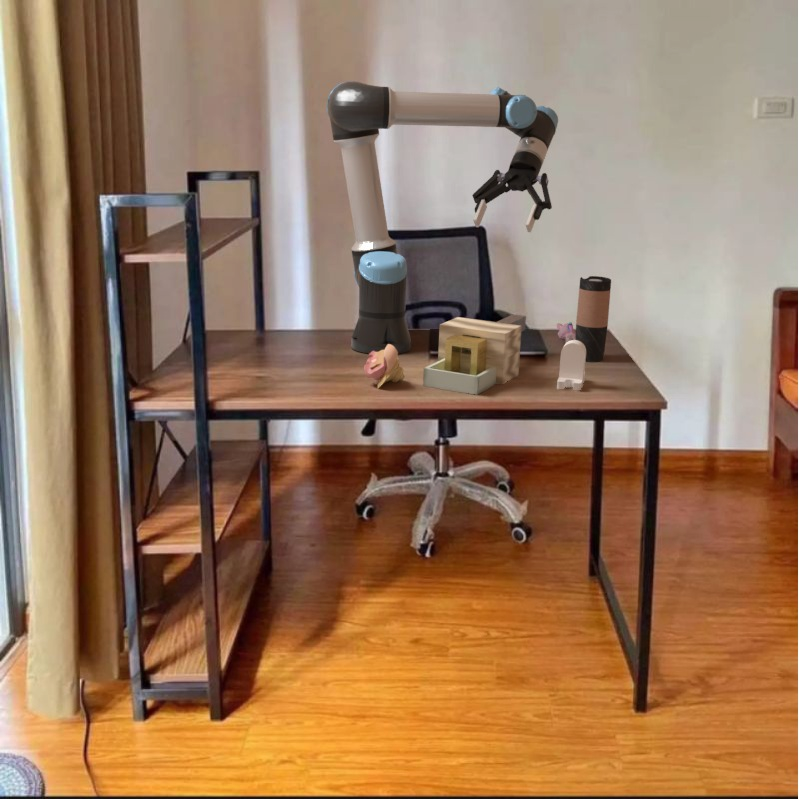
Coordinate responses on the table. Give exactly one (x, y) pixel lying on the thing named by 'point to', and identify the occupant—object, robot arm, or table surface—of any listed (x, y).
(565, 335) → the rabbit figure
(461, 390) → the tray
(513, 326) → the light wood block
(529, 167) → the robot arm
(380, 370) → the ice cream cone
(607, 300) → the travel mug
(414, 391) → the table surface
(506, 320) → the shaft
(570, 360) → the white phone stand
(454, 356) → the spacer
